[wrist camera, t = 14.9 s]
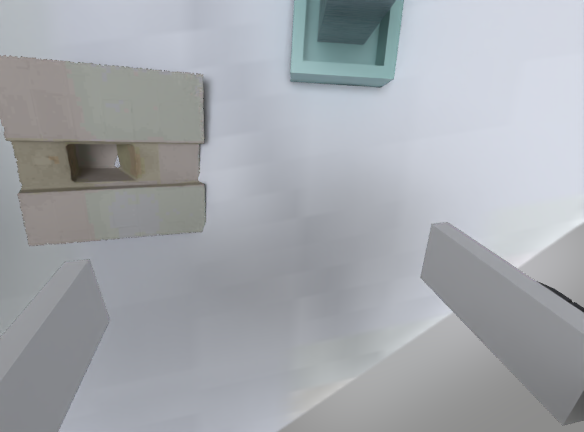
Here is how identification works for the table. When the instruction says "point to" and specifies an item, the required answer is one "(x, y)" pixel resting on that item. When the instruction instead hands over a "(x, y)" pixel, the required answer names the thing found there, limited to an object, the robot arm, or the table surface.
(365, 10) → the brushed metal pillar
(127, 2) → the table surface
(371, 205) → the table surface
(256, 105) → the table surface
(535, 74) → the table surface
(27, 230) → the wall
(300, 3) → the tray
